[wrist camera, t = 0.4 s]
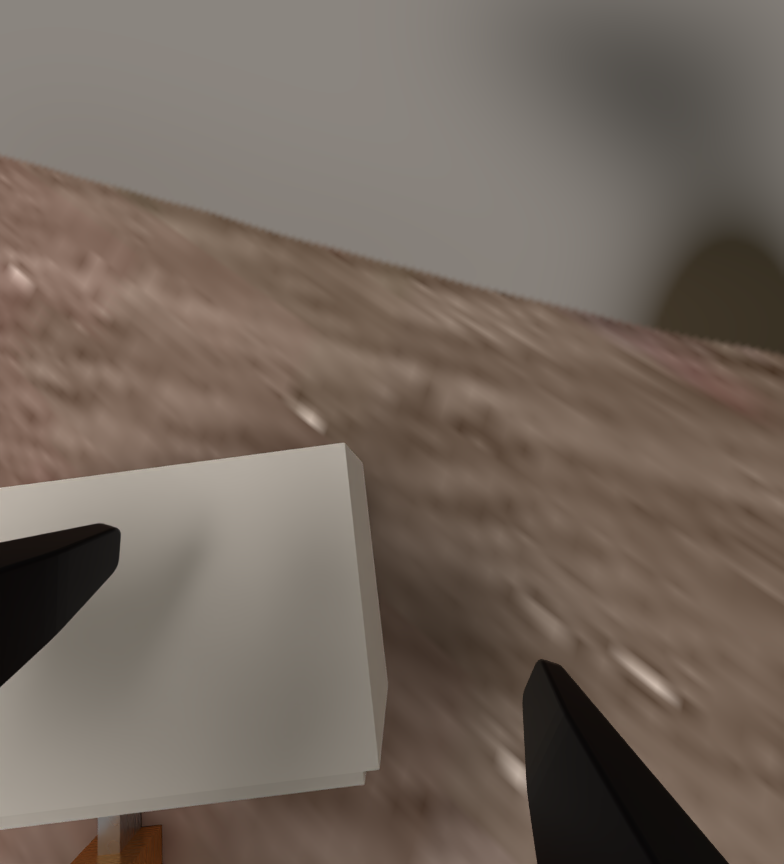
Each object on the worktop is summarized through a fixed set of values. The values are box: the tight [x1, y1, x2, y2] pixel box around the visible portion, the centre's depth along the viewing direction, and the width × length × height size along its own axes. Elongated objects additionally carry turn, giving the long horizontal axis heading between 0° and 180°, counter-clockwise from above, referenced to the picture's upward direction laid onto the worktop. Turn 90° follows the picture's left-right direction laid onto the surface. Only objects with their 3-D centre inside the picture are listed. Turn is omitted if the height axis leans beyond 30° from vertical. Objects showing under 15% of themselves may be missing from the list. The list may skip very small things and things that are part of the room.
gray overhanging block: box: [0, 443, 388, 830], centre depth 17 cm, size 10×17×10 cm, turn 97°
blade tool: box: [71, 812, 162, 864], centre depth 17 cm, size 20×3×7 cm, turn 7°
